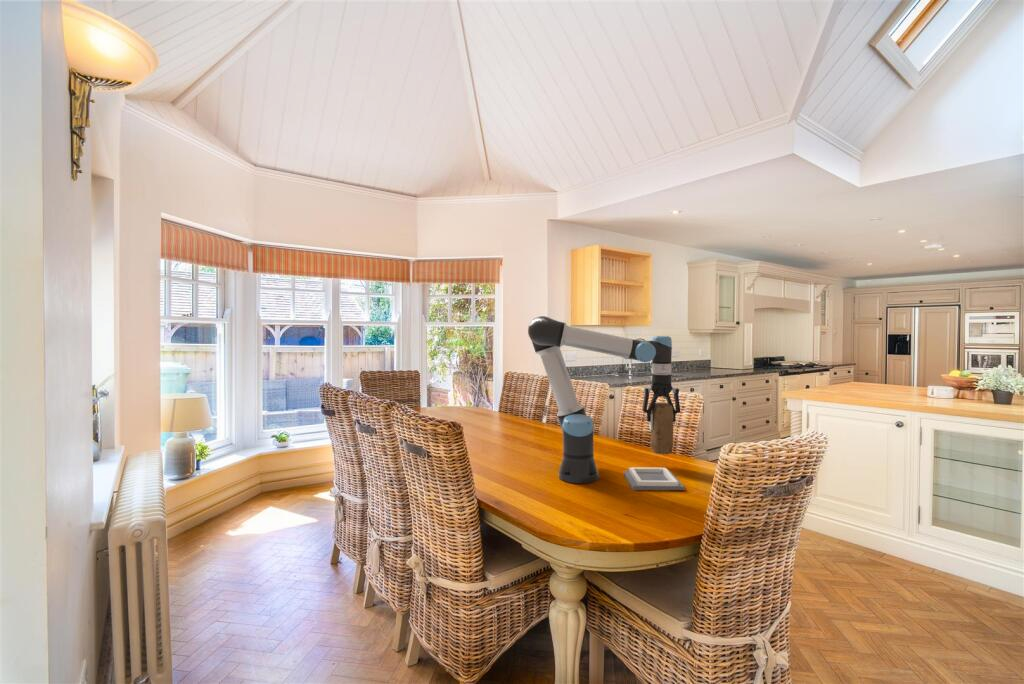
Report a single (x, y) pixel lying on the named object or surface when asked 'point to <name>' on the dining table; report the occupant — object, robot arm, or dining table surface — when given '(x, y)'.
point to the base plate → (652, 479)
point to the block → (662, 428)
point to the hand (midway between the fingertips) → (661, 429)
